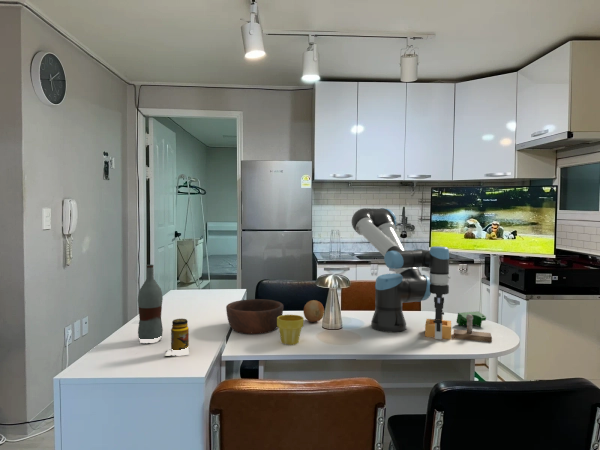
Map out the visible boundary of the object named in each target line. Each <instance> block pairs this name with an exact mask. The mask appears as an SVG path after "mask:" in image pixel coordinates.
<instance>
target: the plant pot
mask: <svg viewBox="0 0 600 450" xmlns="http://www.w3.org/2000/svg"><path fill="white" fill-rule="evenodd" d="M304 318H305V317H304V316H302V315H298V314H282V315H281V316H278V317H277V327H278V331H279V335H280V341H281V344H283V345H288V346H294V345H298V343H299V341H300V338H301V334H302V333H301V332H302V328H303V327H304V320H305V319H304ZM293 344H294V345H293Z"/></svg>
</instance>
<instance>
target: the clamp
mask: <svg viewBox="0 0 600 450" xmlns="http://www.w3.org/2000/svg"><path fill="white" fill-rule="evenodd" d="M468 314H471V315H472V316H473V320H472V326H477V327H479V328H481V327H482V322H483V321H486V320H487V315H484V314H483V313H481V312H480V311H477V310H476V311H467V312H466V311H465V312H457V317H456V324H458V326H460V327H461V326H462V327H464V326H467V318H466V316H467V315H468Z"/></svg>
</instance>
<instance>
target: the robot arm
mask: <svg viewBox="0 0 600 450" xmlns="http://www.w3.org/2000/svg"><path fill="white" fill-rule="evenodd" d="M351 226H352V229H353V230H354V232H355V233H356V234H357V235H359V236H363V237H364V238H365V239H366V240H367V241H368V242H369V244H371V245H372V246H373V247H374V248H375V249H376V250H377V251H378V252H379V253H380V254H381V255H382V256H383V259H384V264H385V266H386V267H387V268H388V269H393V270H394V273H384V274H381V275H378V276H377V277H376V279H375V285H374V288H375V301H374V302H375V303H374V305H375V309H374V312H373V315H372V319H371V321H370V322H371V325H370V327H371V328H372V329H373V330H376V331H380V332H385V333H386V332H387V333H397V332H403V331H405V330H407V322H406V320H405V316H404V313H403V303H404V304H405V303H413V302H415V303H417V302H419V303H420V302H423V301H426V300H428V299H429V298H430V297H431V294H434V295H435V296H434V297H433V303H434V304H433V305H434V308H435V309H434V310H435V312H434V313H435V316H434V317H435V318H434V319H435V321H433V323H435V338H434V339H435V340H443V338H442V320H444V319H443V317H444V315H445V312H444V310H443V309H444V304H445V297H443V295H444V296H445V295H448V294H449V293H450V287H449V283H450V281H449V280H450V279H451V276H450V272H449V271H450V249H449V248H448V247H447V246H431V247H430V248H429V250H428V249H423V248H422V249H421V248H417V249H408V250H406V249H405V248H404V246H403V244H402V243H401V240H400V239H399V237H398V235H397V232H396V231H395V230H396V226H397V217H396V214H395V213H394V212H393V210H391V209H390V208H385V207H384V208H383V207H382V208H372V207H371V208H368V207H367V208H360V209H358V210H356V211H355V212H354V213H353V215H352V218H351ZM419 268H428V269H429V276H428V275H425V274H422V273H421V271H420V270H419Z"/></svg>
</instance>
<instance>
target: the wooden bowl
mask: <svg viewBox="0 0 600 450" xmlns="http://www.w3.org/2000/svg"><path fill="white" fill-rule="evenodd" d="M225 309H226V310H225V311H226V316H227V320H228V324H229V326H230V328H231V329H232V330H233V331H234V332H236V333H239V334H247V335H258V334H261V335H262V334H267V333H270V332H273V331H275V330H277V329H279V327H277V317H278V316H281V315H284V314H283V313H284V303H282V302H280V301H278V300H273V299H260V298H253V299H250V298H249V299H241V300H236V301H231V302H230V303H228V304H227V305H226V307H225Z"/></svg>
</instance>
